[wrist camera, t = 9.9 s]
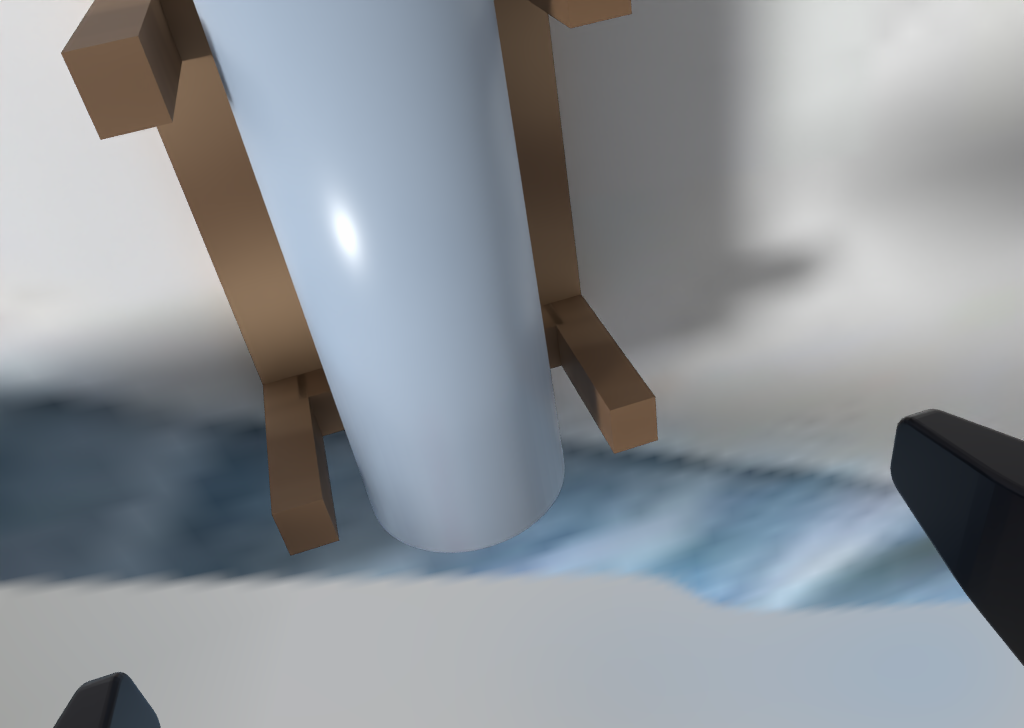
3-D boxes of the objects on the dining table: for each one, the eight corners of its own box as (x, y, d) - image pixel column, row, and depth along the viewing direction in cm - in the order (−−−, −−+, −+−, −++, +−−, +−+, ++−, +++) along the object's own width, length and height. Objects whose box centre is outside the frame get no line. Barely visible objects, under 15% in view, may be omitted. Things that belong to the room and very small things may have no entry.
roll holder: (574, 326, 23) (658, 453, 18) (281, 412, 22) (296, 568, 17) (516, -129, 16) (624, -104, 12) (97, -42, 15) (46, 21, 11)
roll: (532, 393, 21) (593, 514, 17) (359, 444, 20) (386, 579, 17) (446, -103, 14) (515, -71, 11) (190, -50, 14) (175, 2, 10)
